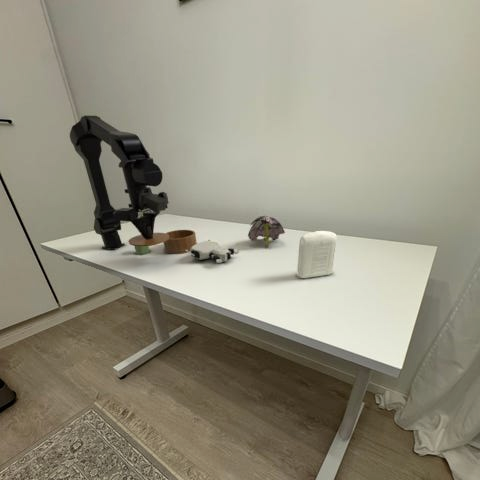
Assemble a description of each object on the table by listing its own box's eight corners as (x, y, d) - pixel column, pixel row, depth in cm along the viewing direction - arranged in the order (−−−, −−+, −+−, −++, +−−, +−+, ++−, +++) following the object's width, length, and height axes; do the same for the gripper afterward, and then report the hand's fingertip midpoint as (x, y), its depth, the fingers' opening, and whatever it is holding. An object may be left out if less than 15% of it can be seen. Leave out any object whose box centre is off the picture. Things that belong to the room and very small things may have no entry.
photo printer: (327, 269, 82) (332, 227, 76) (334, 275, 79) (340, 231, 72) (294, 274, 81) (297, 231, 74) (300, 280, 77) (304, 236, 71)
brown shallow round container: (158, 252, 104) (155, 237, 101) (177, 242, 113) (174, 228, 110) (185, 255, 100) (183, 240, 97) (202, 244, 109) (200, 230, 106)
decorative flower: (288, 212, 105) (274, 208, 92) (292, 243, 107) (279, 243, 94) (254, 221, 112) (237, 219, 99) (258, 250, 114) (242, 251, 101)
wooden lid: (120, 246, 89) (115, 230, 86) (147, 234, 99) (143, 219, 96) (153, 249, 84) (149, 233, 82) (177, 237, 94) (174, 221, 91)
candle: (133, 253, 104) (130, 242, 101) (142, 249, 108) (139, 238, 105) (143, 255, 102) (140, 243, 100) (152, 250, 106) (149, 239, 103)
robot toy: (241, 259, 96) (208, 249, 103) (241, 246, 93) (207, 237, 100) (218, 271, 87) (184, 260, 94) (218, 258, 85) (183, 247, 92)
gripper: (136, 190, 72) (149, 248, 81) (176, 180, 86) (184, 230, 95) (104, 189, 76) (121, 244, 85) (148, 180, 90) (158, 228, 99)
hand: (148, 236), depth 91 cm, fingers closed on wooden lid, 3 cm apart
